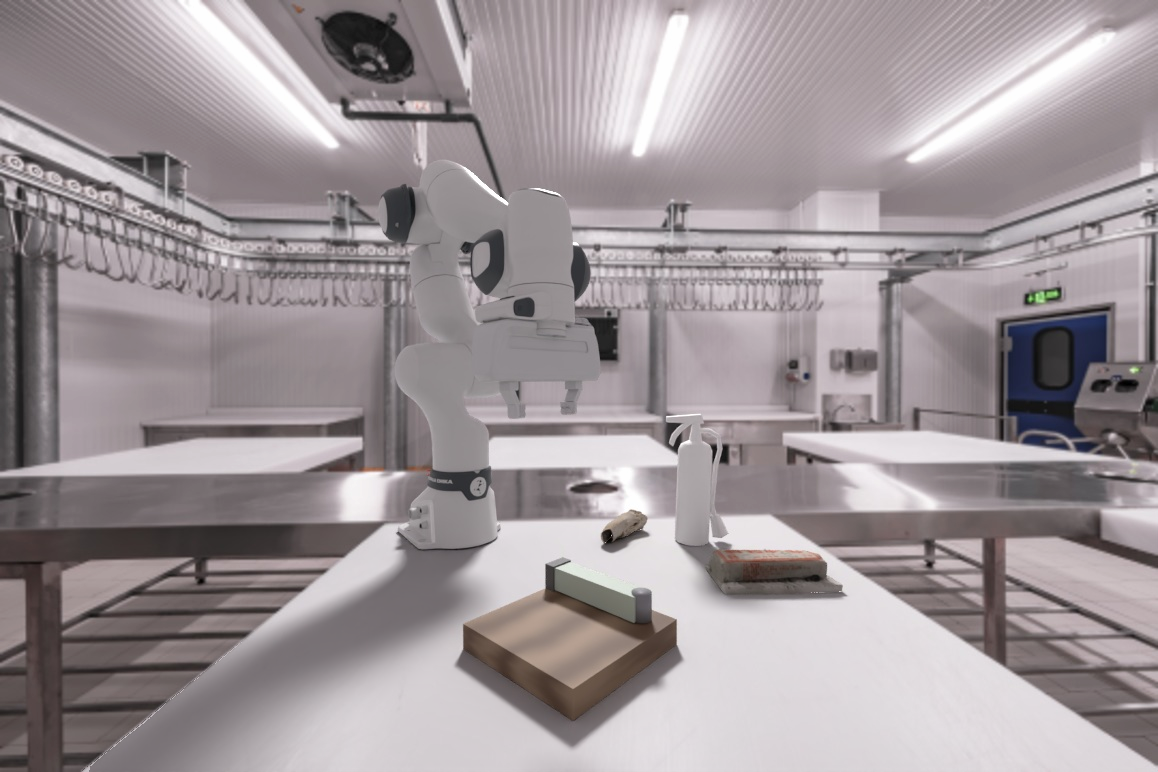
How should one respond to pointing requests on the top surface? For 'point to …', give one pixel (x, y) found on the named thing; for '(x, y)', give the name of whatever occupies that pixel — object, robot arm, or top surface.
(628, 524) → the bone fragment
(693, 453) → the fire extinguisher
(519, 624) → the stool seat
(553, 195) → the robot arm
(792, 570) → the packaged product
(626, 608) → the hinged leg
